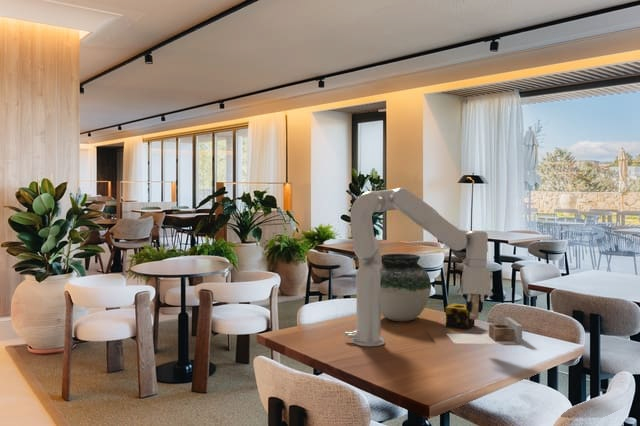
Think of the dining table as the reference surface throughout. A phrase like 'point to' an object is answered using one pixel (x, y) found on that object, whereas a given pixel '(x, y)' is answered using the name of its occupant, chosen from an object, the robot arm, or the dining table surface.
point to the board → (485, 337)
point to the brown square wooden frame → (501, 332)
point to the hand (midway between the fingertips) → (474, 311)
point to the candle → (458, 317)
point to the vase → (403, 287)
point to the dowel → (474, 306)
